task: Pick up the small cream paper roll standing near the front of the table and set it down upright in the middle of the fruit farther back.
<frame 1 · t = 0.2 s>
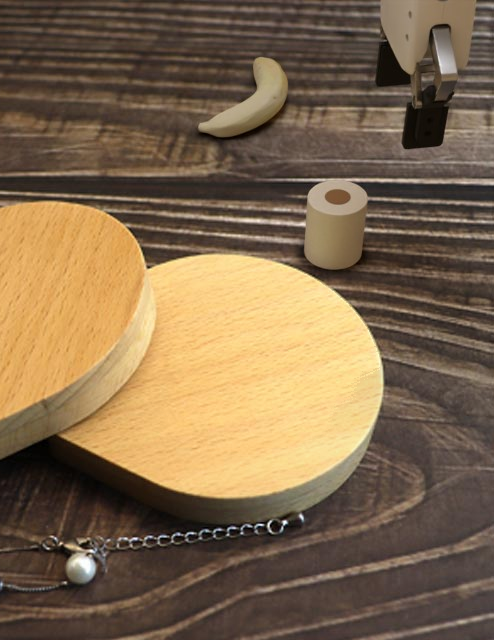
hand: (406, 113, 85), 17 cm above the table, tool pointing down, fingers open, 9 cm apart
paper roll: (332, 251, 101), on the table
fruit: (247, 107, 121), on the table
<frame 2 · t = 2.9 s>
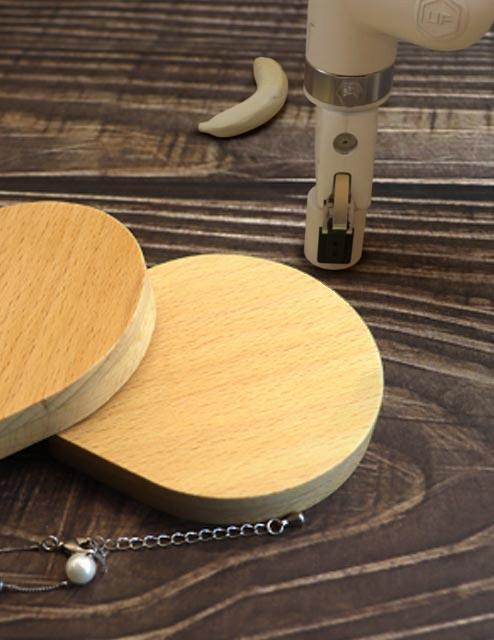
hand: (333, 239, 100), 2 cm above the table, tool pointing down, fingers closed on paper roll, 5 cm apart
paper roll: (332, 251, 101), on the table, touching gripper
everything else where it was.
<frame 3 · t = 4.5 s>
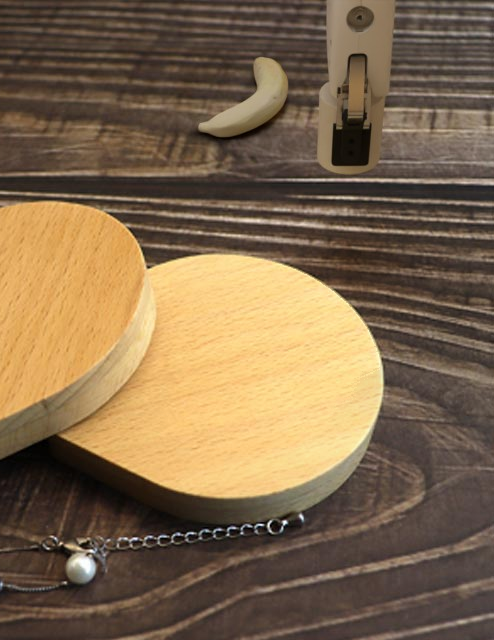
hand: (349, 142, 91), 13 cm above the table, tool pointing down, fingers closed on paper roll, 5 cm apart
paper roll: (348, 157, 92), point 11 cm above the table, touching gripper
everything else where it was.
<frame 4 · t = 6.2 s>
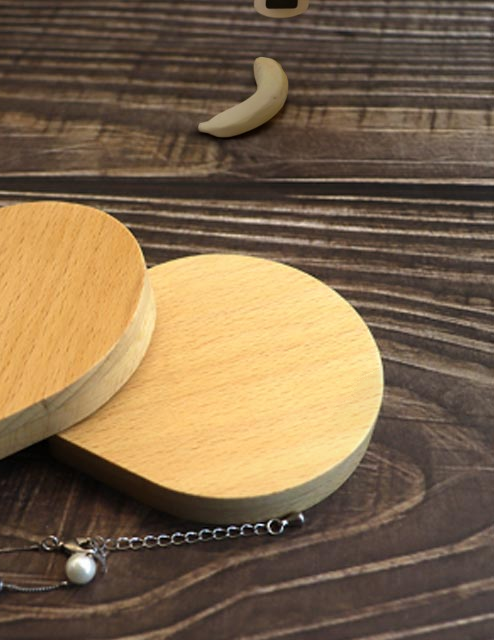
paper roll: (281, 5, 105), point 15 cm above the table, touching gripper
everything else where it was.
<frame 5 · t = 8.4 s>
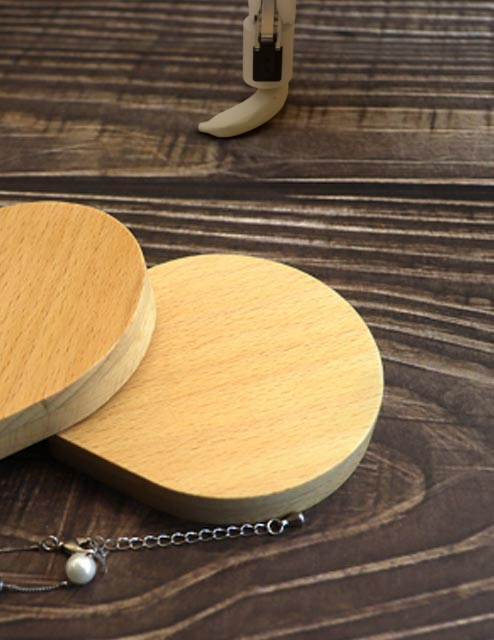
hand: (268, 64, 115), 6 cm above the table, tool pointing down, fingers closed on paper roll, 5 cm apart
paper roll: (267, 76, 116), point 4 cm above the table, touching gripper
everything else where it was.
when the fingers open (5 cm above the table, at t = 9.6 s): paper roll stays where it is, resting on fruit.
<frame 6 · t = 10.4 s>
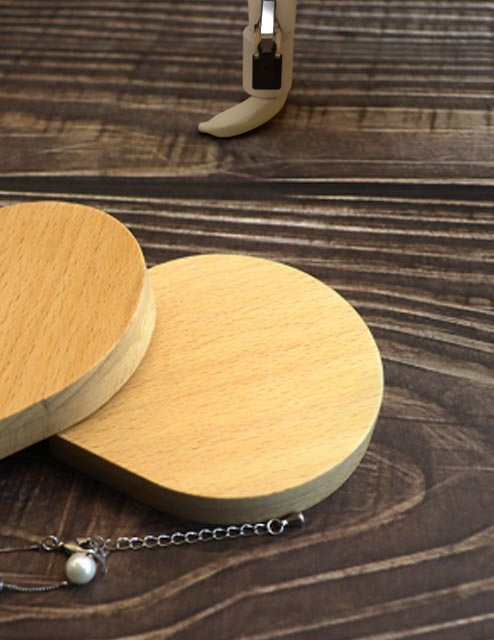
hand: (268, 66, 115), 6 cm above the table, tool pointing down, fingers open, 9 cm apart
paper roll: (267, 85, 117), point 3 cm above the table, touching fruit
fruit: (247, 107, 121), on the table, touching paper roll
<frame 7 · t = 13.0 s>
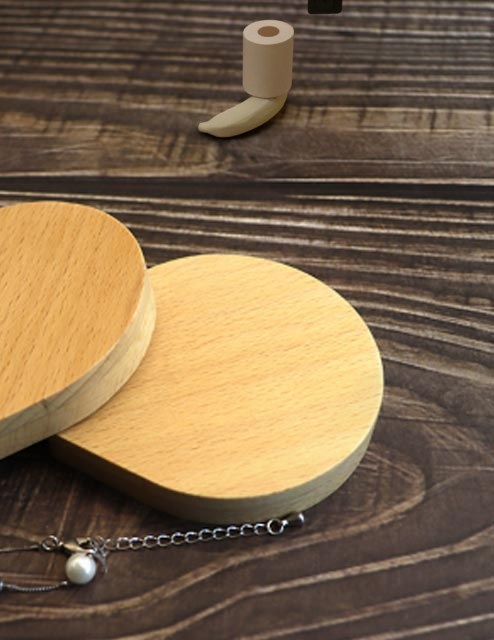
nothing on the table moved.
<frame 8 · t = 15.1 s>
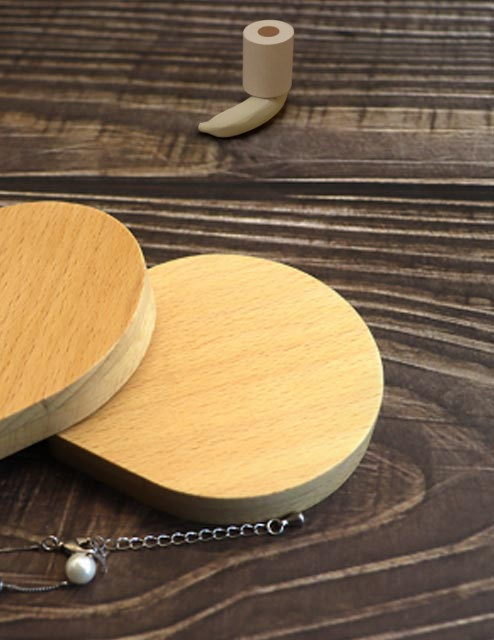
nothing on the table moved.
at the end: paper roll inside the target area on the fruit (2.4 cm from its centre), point 3.5 cm above the fruit's base; paper roll tilted 0°; the gripper is holding nothing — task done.
